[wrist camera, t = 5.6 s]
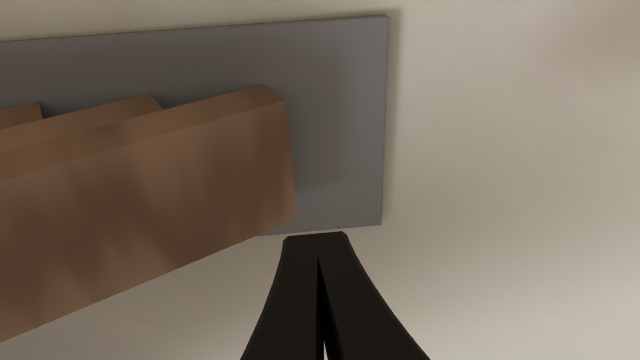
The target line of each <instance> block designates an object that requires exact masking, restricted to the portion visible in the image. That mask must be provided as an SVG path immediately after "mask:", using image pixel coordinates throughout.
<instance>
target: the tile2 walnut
mask: <svg viewBox="0 0 640 360" xmlns="http://www.w3.org/2000/svg"><path fill="white" fill-rule="evenodd" d="M161 110H163V108H162V107H161V106H160V105H159V104H158V102H157V101H156V100H155V99H154V98H153V97H152V95H151V94H150V93H148V94H144V95H140V96H136V97H132V98H128V99H123V100H119V101H115V102H111V103H107V104H103V105H99V106H95V107H91V108H87V109H83V110H79V111H74V112H70V113H66V114H62V115H58V116H54V117H50V118H46V119H42V120H38V121H34V122H30V123H25V124H21V125H17V126H13V127H9V128H5V129H1V130H0V153H1V152H5V151H9V150H12V149H16V148H20V147H24V146H28V145H31V144H35V143H39V142H43V141H47V140H51V139H54V138H58V137H62V136H66V135H70V134H74V133H77V132H81V131H85V130H89V129H93V128H96V127H100V126H104V125H108V124H112V123H116V122H119V121H123V120H127V119H131V118H135V117H139V116H142V115H146V114H150V113H154V112H158V111H161Z"/></svg>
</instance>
